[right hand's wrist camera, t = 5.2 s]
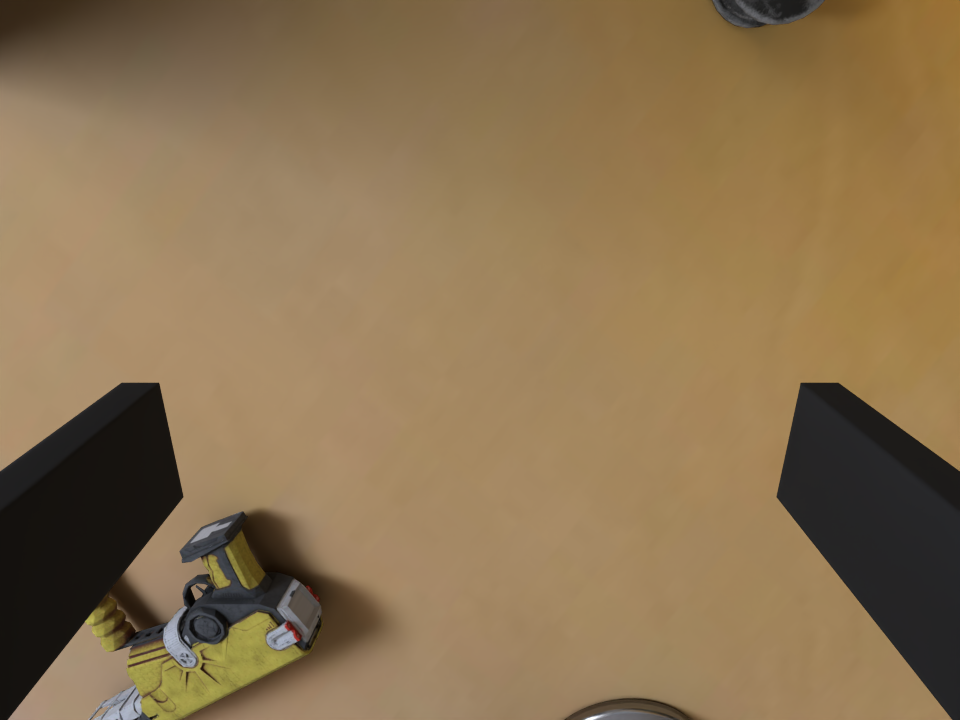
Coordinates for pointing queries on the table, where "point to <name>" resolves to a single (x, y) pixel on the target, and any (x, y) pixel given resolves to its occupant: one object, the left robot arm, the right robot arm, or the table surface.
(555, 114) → the table surface
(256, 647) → the toy gun
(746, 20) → the dark grey turned figure
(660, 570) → the table surface
